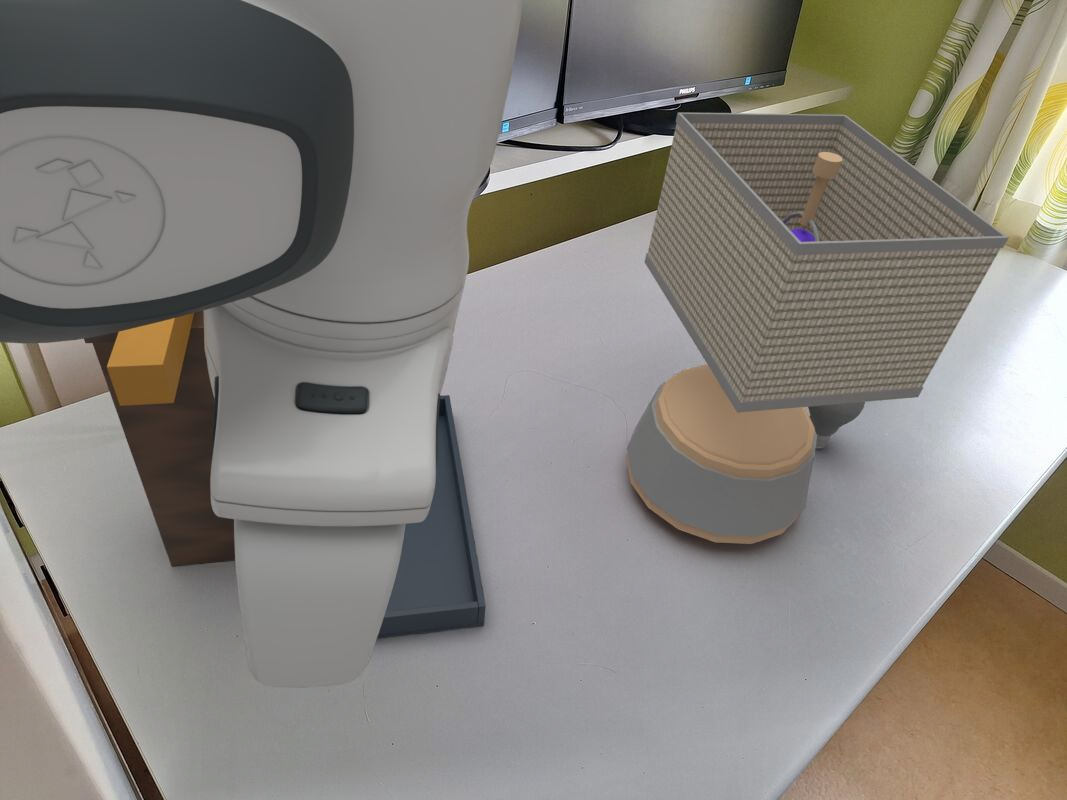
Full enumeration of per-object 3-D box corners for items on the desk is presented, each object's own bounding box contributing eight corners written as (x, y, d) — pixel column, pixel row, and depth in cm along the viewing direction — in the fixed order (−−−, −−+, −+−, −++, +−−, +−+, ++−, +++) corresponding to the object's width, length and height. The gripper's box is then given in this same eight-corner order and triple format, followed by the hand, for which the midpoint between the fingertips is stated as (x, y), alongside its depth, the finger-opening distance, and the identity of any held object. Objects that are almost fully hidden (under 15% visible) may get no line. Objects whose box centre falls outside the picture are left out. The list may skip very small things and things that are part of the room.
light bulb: (796, 460, 86) (827, 393, 79) (781, 424, 90) (810, 358, 84) (847, 463, 86) (882, 396, 80) (830, 427, 91) (862, 361, 84)
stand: (167, 569, 67) (80, 331, 50) (181, 496, 73) (108, 262, 56) (292, 557, 69) (250, 326, 52) (295, 487, 76) (258, 260, 59)
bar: (119, 406, 45) (106, 366, 43) (175, 224, 61) (167, 190, 59) (174, 403, 46) (163, 364, 44) (214, 224, 62) (207, 190, 60)
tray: (326, 644, 63) (323, 624, 61) (328, 422, 83) (325, 401, 81) (483, 626, 66) (485, 606, 64) (448, 414, 86) (449, 394, 84)
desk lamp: (839, 556, 76) (1033, 224, 52) (661, 581, 71) (783, 231, 47) (747, 411, 91) (863, 104, 67) (596, 423, 87) (663, 101, 63)
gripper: (267, 172, 35) (261, 397, 43) (200, 530, 20) (211, 763, 28) (406, 193, 36) (373, 405, 45) (440, 535, 22) (381, 753, 30)
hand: (310, 547), depth 37 cm, fingers open, 8 cm apart
